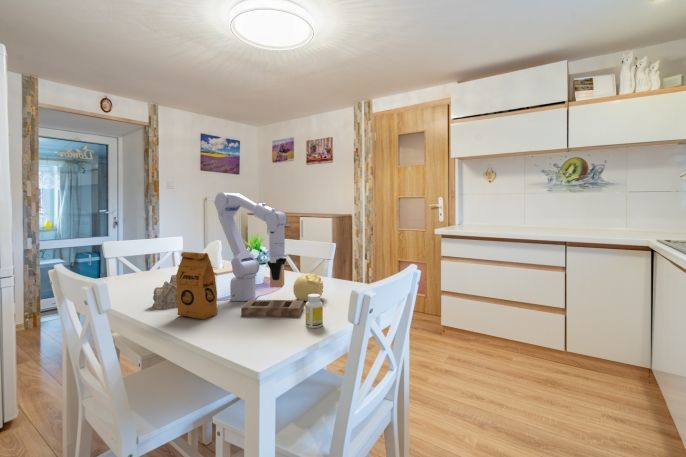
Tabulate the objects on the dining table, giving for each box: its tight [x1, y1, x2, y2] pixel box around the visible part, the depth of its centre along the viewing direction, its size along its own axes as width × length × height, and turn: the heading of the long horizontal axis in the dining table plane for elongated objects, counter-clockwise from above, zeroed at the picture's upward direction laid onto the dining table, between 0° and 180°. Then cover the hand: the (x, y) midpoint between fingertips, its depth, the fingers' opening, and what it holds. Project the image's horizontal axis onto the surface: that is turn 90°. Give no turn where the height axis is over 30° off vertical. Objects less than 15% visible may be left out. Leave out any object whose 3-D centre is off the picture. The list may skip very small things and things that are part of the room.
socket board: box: [240, 299, 305, 318], centre depth 126 cm, size 20×10×3 cm, turn 88°
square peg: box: [269, 264, 285, 288], centre depth 135 cm, size 4×4×8 cm
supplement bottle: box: [305, 294, 324, 329], centre depth 112 cm, size 5×5×10 cm
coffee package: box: [175, 251, 218, 320], centre depth 121 cm, size 10×12×22 cm
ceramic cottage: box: [152, 274, 178, 310], centre depth 137 cm, size 16×16×15 cm
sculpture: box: [292, 272, 324, 302], centre depth 142 cm, size 12×12×11 cm
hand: (277, 278), depth 135 cm, fingers closed on square peg, 4 cm apart
